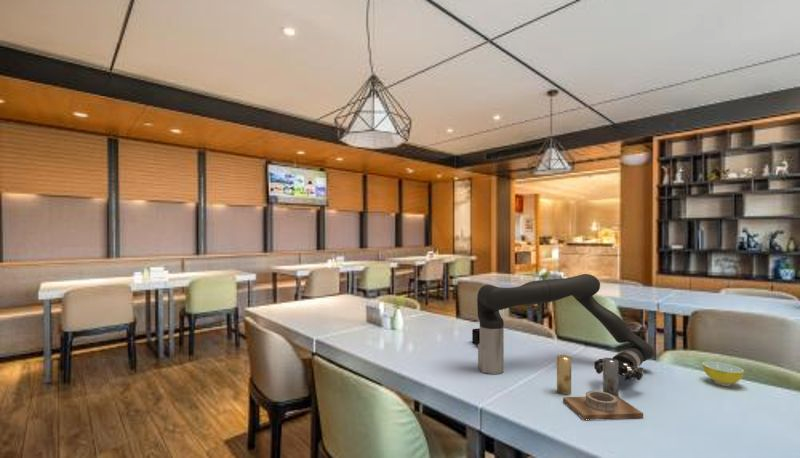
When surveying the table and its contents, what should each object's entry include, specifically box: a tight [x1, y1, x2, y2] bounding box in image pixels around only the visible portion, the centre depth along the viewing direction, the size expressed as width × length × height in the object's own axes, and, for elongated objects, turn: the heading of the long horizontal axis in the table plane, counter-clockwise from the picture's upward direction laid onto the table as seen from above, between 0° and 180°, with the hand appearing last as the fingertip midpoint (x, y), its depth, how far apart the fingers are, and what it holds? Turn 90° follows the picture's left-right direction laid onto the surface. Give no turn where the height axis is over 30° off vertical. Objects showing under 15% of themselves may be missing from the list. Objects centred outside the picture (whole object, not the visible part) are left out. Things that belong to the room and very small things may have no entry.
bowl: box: [701, 361, 745, 387], centre depth 137 cm, size 11×12×6 cm
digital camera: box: [471, 327, 480, 346], centre depth 182 cm, size 10×5×7 cm, turn 25°
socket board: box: [562, 390, 644, 421], centre depth 116 cm, size 18×12×4 cm, turn 95°
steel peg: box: [602, 357, 620, 397], centre depth 126 cm, size 4×4×12 cm
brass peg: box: [556, 354, 572, 396], centre depth 129 cm, size 4×4×12 cm
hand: (611, 374), depth 127 cm, fingers open, 8 cm apart
